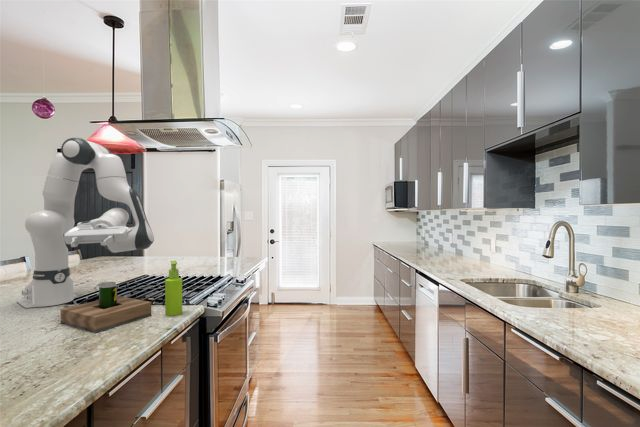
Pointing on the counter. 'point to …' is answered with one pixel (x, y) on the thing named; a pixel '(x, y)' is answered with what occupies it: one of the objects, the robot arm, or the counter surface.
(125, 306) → the socket board
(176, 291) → the soap dispenser
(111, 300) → the beer can
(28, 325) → the counter surface
